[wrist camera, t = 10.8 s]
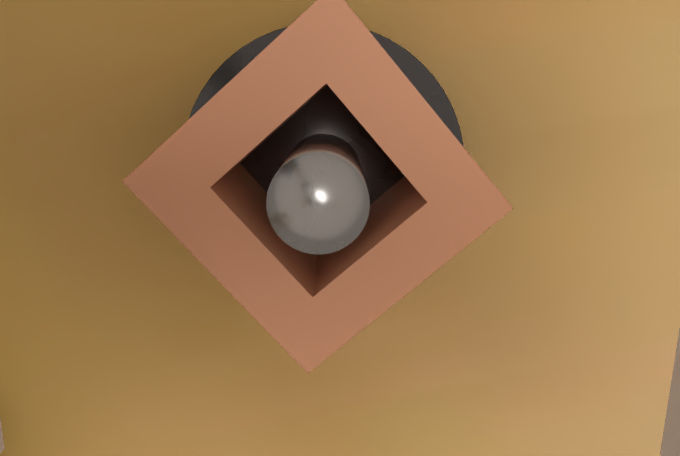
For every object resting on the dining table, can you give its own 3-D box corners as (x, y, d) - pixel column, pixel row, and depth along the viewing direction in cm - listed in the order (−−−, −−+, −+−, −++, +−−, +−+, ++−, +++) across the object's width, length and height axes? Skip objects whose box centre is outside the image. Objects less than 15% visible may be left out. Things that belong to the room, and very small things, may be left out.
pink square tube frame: (172, 158, 25) (121, 181, 19) (333, 10, 23) (332, -15, 18) (314, 309, 26) (307, 373, 21) (472, 179, 25) (513, 208, 19)
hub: (166, 57, 26) (73, 43, 17) (432, 3, 26) (485, -42, 16) (229, 305, 29) (179, 409, 20) (470, 261, 28) (533, 346, 19)
